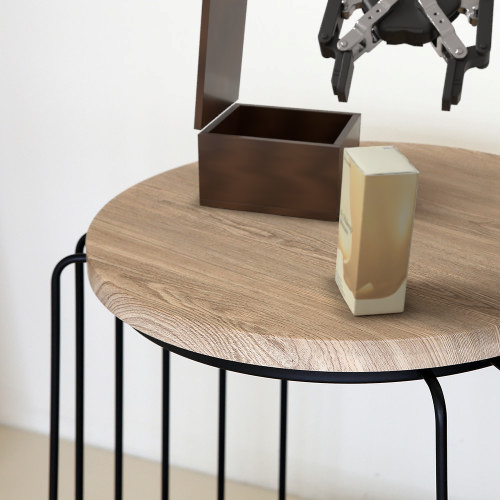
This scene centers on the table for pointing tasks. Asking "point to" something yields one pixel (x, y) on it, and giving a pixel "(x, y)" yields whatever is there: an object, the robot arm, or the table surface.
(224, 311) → the table surface
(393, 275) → the cosmetic box
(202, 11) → the lid
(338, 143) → the chest
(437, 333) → the table surface
